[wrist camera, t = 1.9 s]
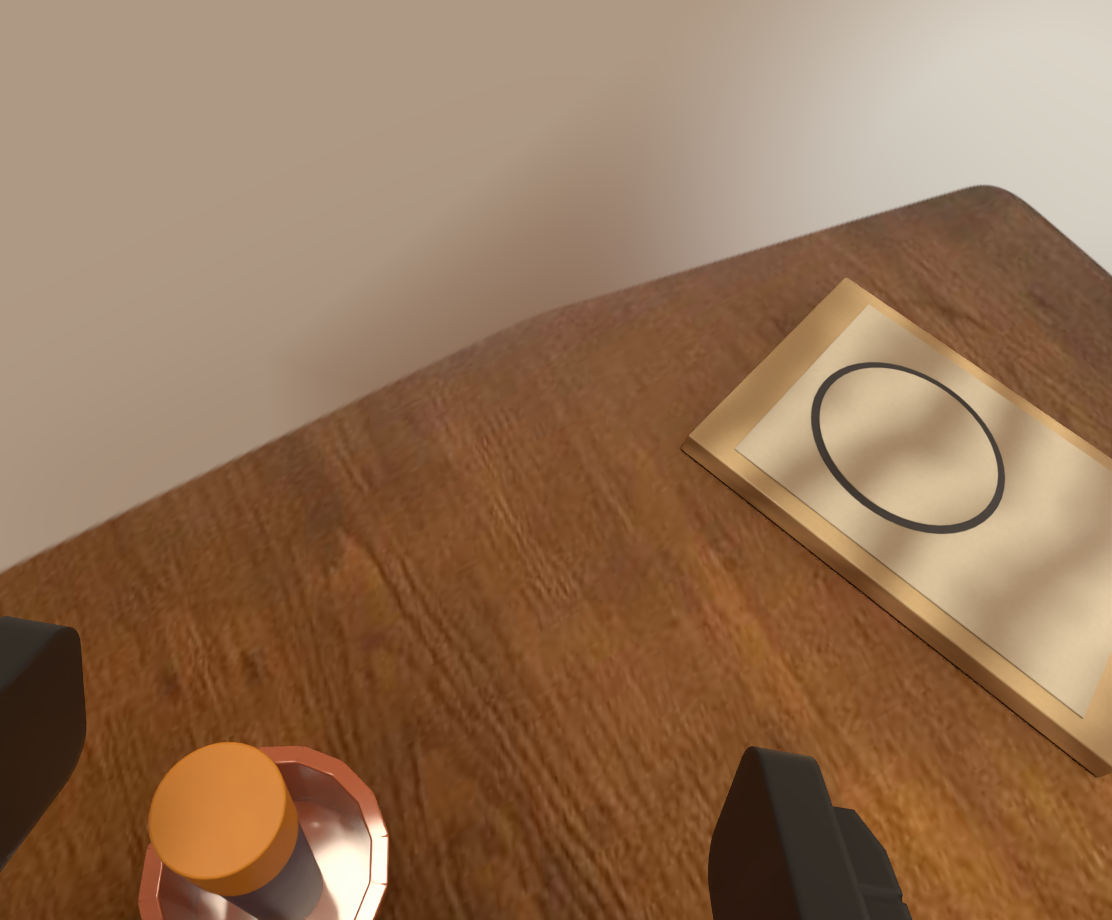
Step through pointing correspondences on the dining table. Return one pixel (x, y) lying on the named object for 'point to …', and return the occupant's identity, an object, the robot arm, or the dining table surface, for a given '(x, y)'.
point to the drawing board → (936, 505)
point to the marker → (236, 832)
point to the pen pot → (332, 833)
